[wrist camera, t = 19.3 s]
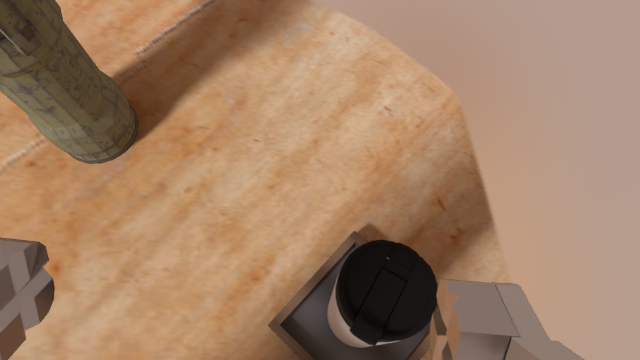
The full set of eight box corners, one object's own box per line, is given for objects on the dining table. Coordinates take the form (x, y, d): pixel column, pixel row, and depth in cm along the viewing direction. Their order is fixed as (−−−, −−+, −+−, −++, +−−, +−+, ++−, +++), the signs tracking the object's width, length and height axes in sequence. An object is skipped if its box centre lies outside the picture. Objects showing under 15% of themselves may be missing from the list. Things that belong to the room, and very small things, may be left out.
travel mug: (313, 329, 46) (314, 311, 28) (346, 270, 48) (368, 217, 30) (369, 363, 45) (410, 369, 27) (401, 302, 47) (459, 267, 29)
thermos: (88, 76, 57) (-216, -307, 24) (164, 126, 55) (-58, -219, 22) (34, 130, 54) (-392, -215, 21) (110, 186, 52) (-233, -105, 19)
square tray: (365, 422, 44) (368, 425, 42) (269, 326, 47) (267, 325, 45) (448, 316, 48) (455, 314, 46) (354, 233, 51) (356, 228, 48)
